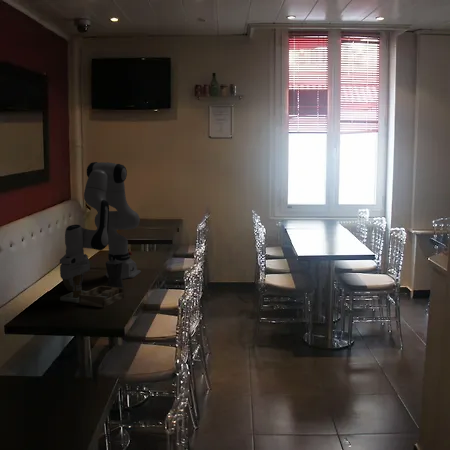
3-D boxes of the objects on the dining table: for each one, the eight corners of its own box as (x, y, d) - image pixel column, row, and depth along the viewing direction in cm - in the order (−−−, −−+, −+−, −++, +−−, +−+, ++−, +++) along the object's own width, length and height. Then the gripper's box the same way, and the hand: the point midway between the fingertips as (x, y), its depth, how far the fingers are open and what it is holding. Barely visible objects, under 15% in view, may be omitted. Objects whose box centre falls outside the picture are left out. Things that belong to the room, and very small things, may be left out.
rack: (100, 294, 289) (100, 285, 289) (123, 297, 284) (123, 288, 284) (79, 304, 273) (79, 294, 272) (103, 307, 268) (103, 297, 267)
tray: (77, 293, 292) (77, 289, 292) (93, 295, 289) (93, 291, 288) (60, 300, 279) (60, 297, 279) (77, 302, 276) (76, 299, 275)
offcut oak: (113, 297, 285) (112, 288, 284) (119, 298, 284) (118, 288, 283) (107, 300, 280) (107, 290, 280) (113, 300, 279) (113, 291, 278)
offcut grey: (101, 303, 275) (101, 295, 275) (107, 303, 274) (107, 296, 273) (96, 305, 271) (96, 297, 270) (102, 306, 270) (102, 298, 269)
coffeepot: (127, 291, 296) (125, 258, 293) (109, 293, 292) (108, 259, 290) (119, 284, 310) (118, 252, 307) (103, 286, 306) (101, 254, 303)
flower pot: (74, 286, 306) (73, 274, 305) (86, 289, 300) (85, 276, 299) (59, 290, 298) (58, 277, 297) (71, 293, 292) (70, 280, 291)
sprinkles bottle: (80, 297, 282) (80, 271, 280) (71, 297, 282) (70, 271, 280) (82, 295, 286) (81, 269, 285) (73, 295, 286) (72, 269, 284)
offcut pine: (106, 300, 279) (106, 290, 278) (112, 301, 278) (112, 290, 277) (102, 302, 276) (101, 292, 275) (108, 303, 274) (107, 292, 274)
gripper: (82, 252, 291) (83, 278, 294) (57, 260, 273) (58, 288, 275) (92, 253, 289) (93, 279, 291) (67, 261, 270) (69, 289, 272)
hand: (76, 283), depth 283 cm, fingers open, 5 cm apart
